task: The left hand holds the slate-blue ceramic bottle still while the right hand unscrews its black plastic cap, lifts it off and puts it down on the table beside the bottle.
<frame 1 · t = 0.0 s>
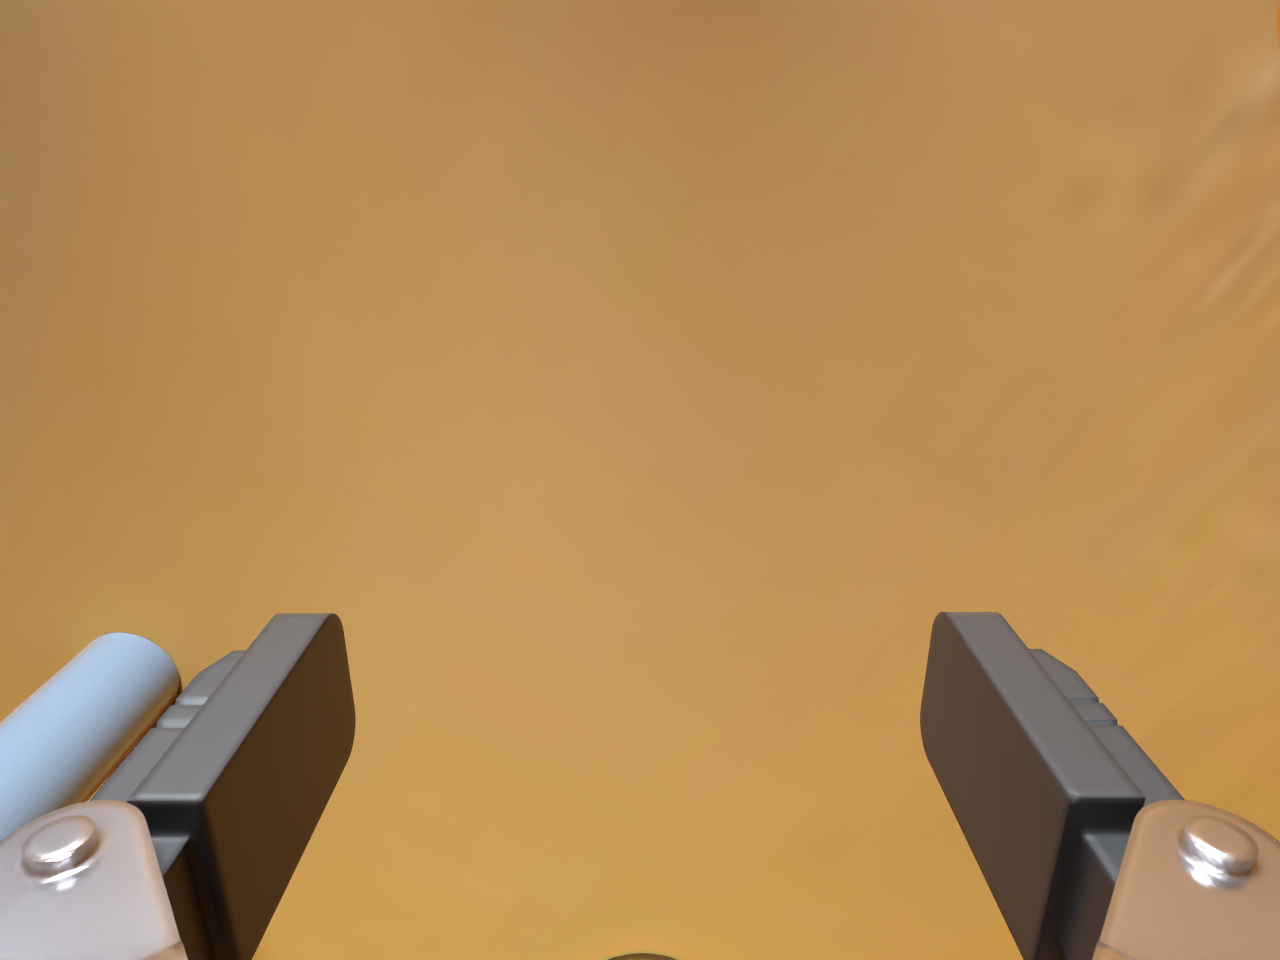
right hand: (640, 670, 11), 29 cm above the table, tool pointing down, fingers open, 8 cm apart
bottle: (130, 674, 46), on the table
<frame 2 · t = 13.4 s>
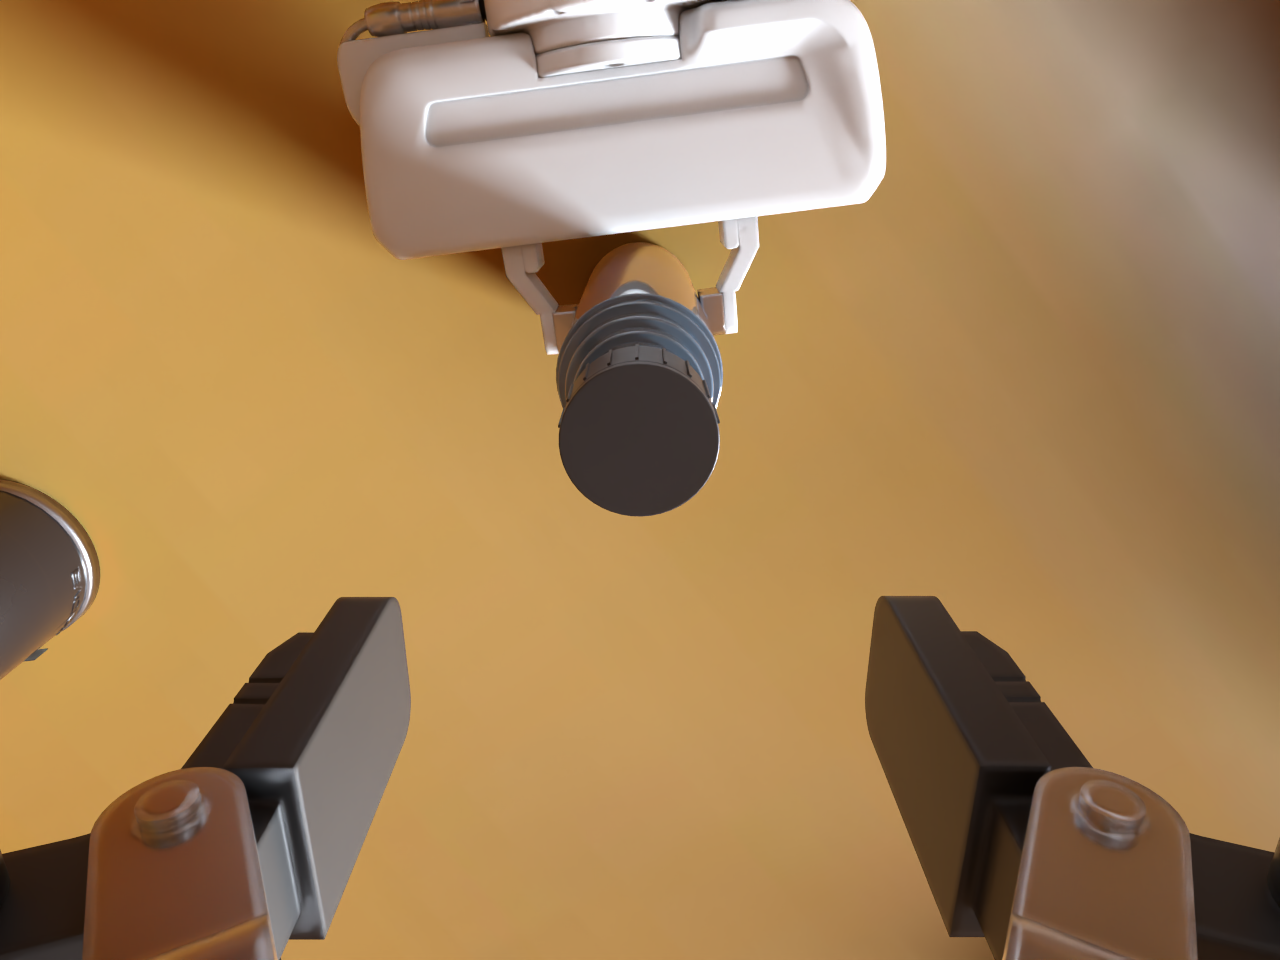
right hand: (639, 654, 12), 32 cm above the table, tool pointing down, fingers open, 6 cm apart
left hand: (643, 341, 36), fingers closed on bottle, 5 cm apart
bottle: (639, 297, 42), on the table, touching left hand
cap: (639, 439, 21), point 23 cm above the table, screwed on, not yet turned
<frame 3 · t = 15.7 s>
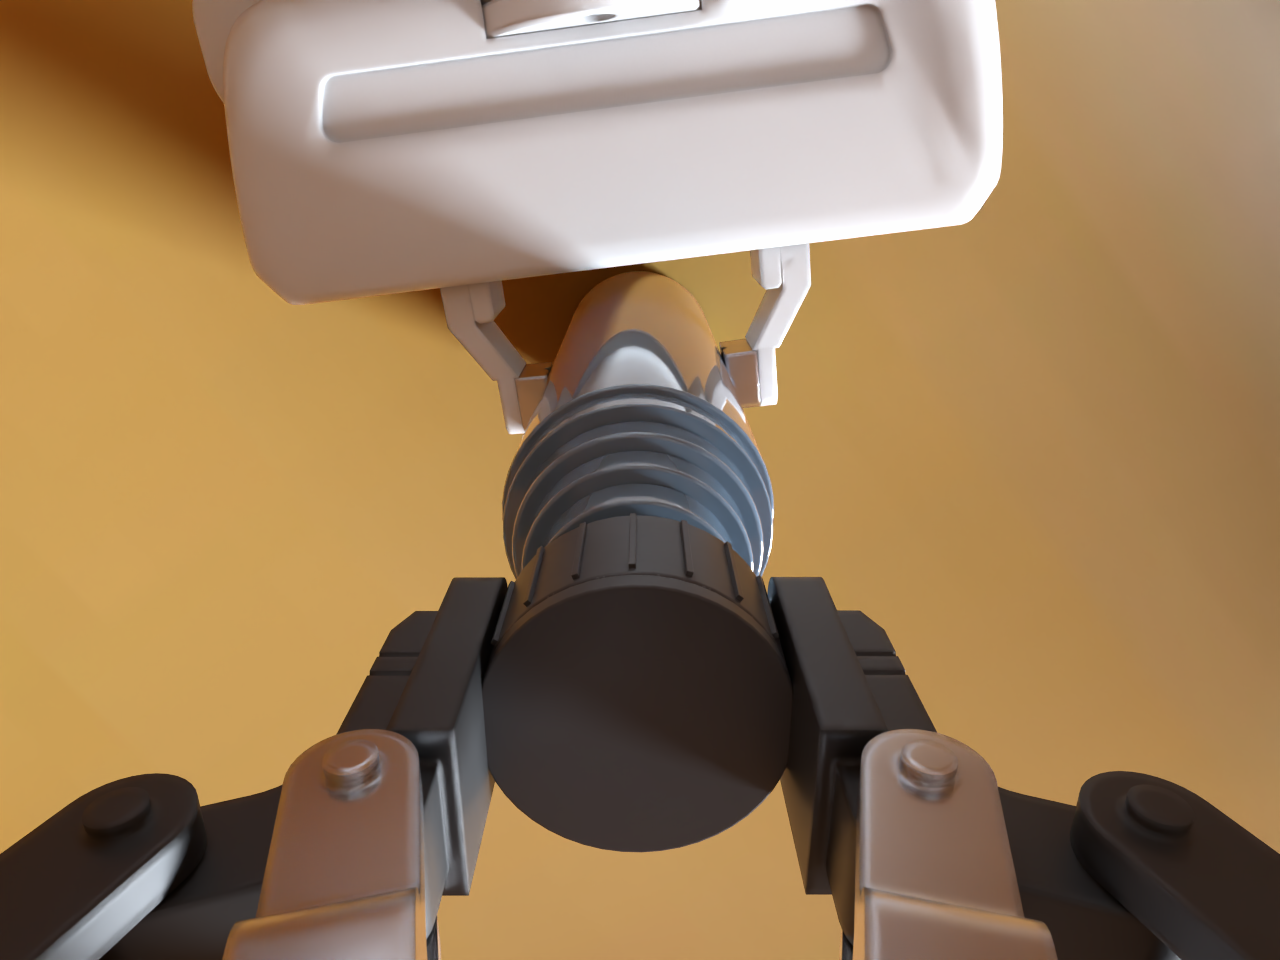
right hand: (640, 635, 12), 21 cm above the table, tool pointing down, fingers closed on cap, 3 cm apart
left hand: (643, 414, 26), fingers closed on bottle, 5 cm apart
bottle: (639, 342, 32), on the table, touching left hand
cap: (636, 713, 11), point 23 cm above the table, screwed on, not yet turned, touching right hand
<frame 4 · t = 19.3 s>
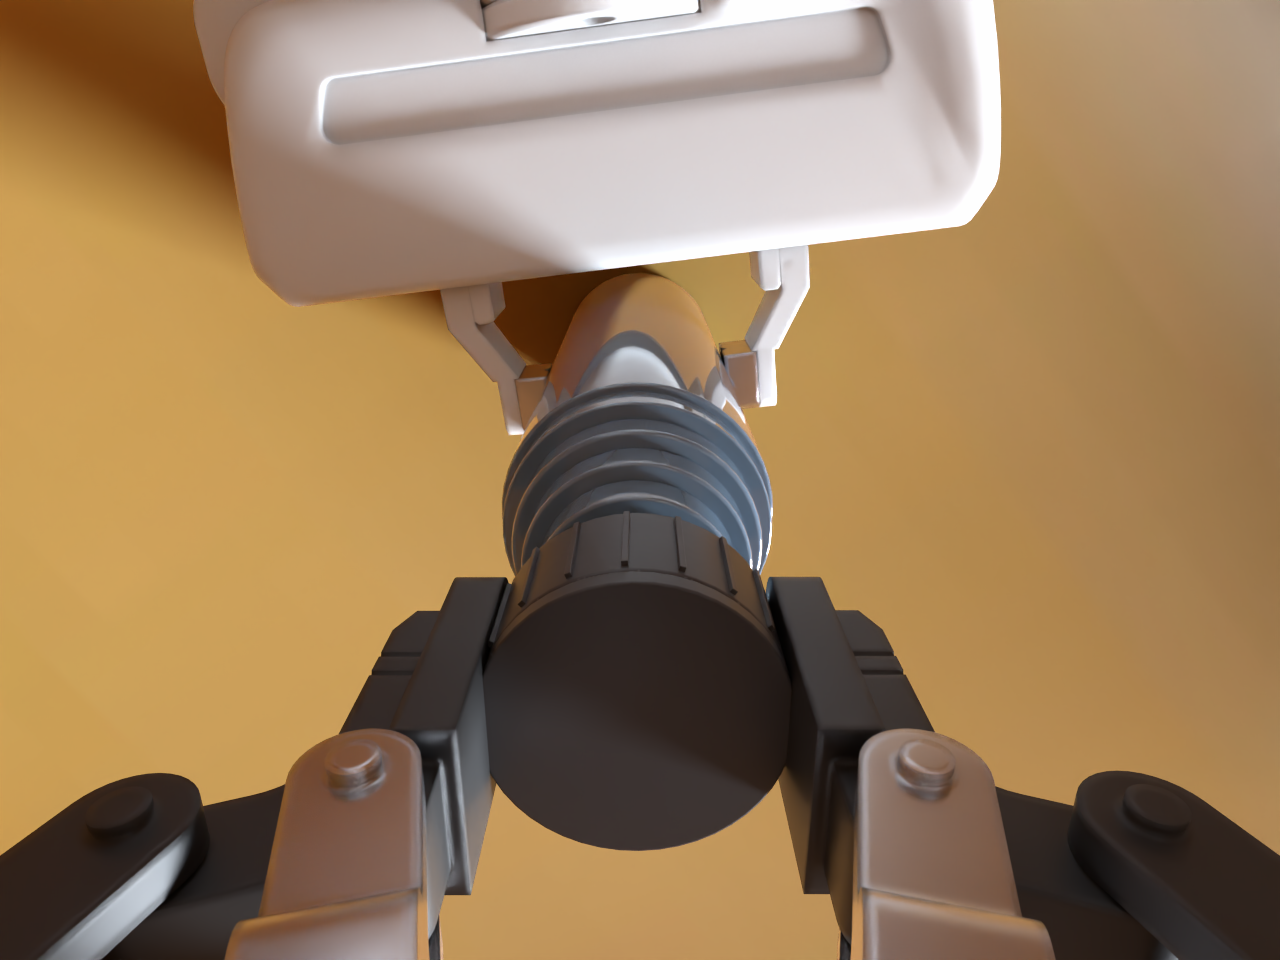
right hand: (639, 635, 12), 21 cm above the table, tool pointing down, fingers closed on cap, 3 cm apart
left hand: (643, 415, 26), fingers closed on bottle, 5 cm apart
bottle: (638, 344, 32), on the table, touching left hand
cap: (635, 711, 11), point 23 cm above the table, turned 82° so far, risen 0.1 cm, still on its thread, touching right hand
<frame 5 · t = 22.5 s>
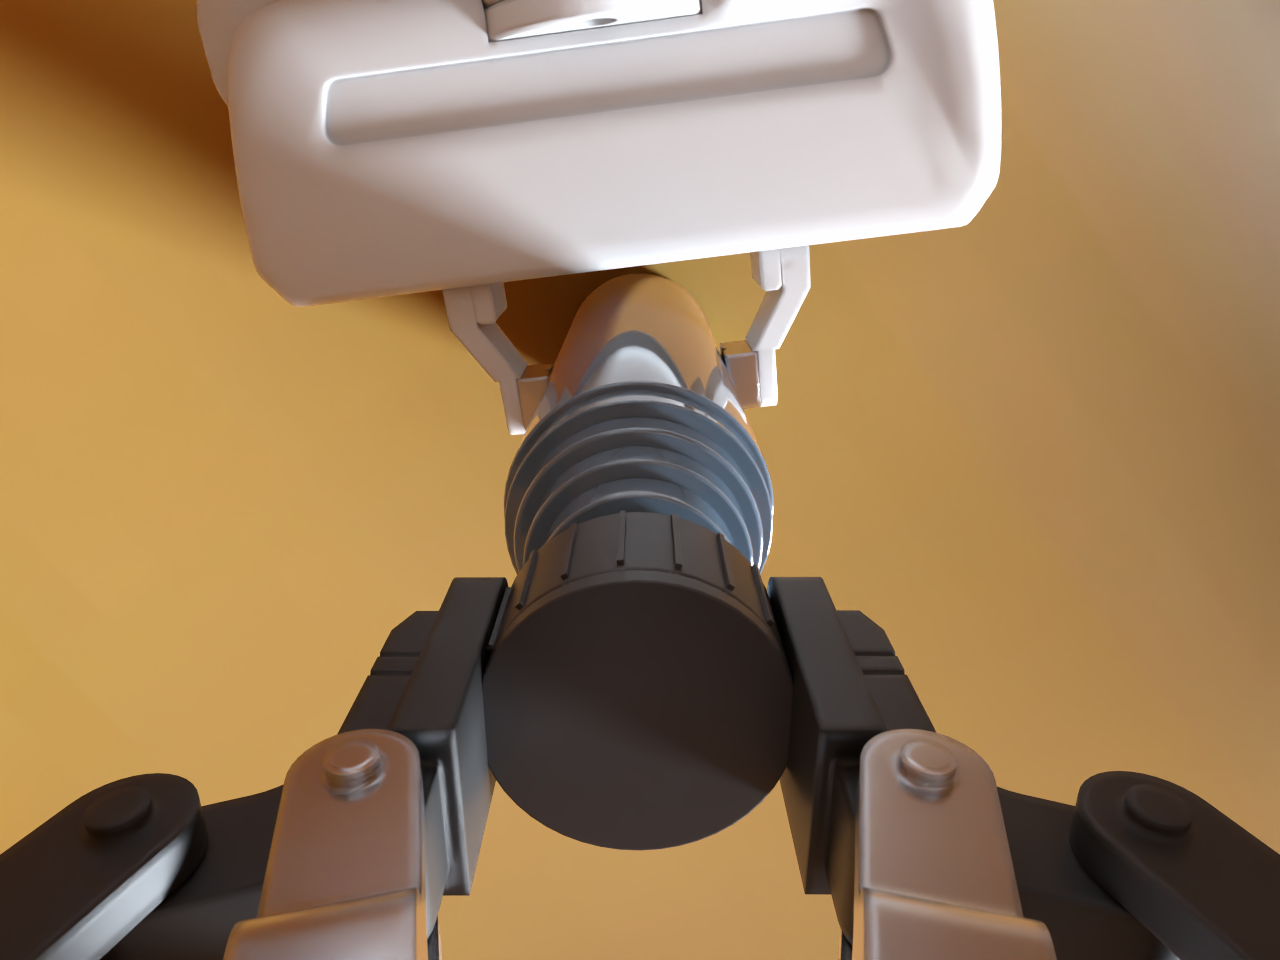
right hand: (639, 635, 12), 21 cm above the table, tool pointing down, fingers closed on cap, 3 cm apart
left hand: (644, 415, 26), fingers closed on bottle, 5 cm apart
bottle: (639, 344, 32), on the table, touching left hand
cap: (637, 710, 11), point 23 cm above the table, turned 164° so far, risen 0.2 cm, still on its thread, touching right hand
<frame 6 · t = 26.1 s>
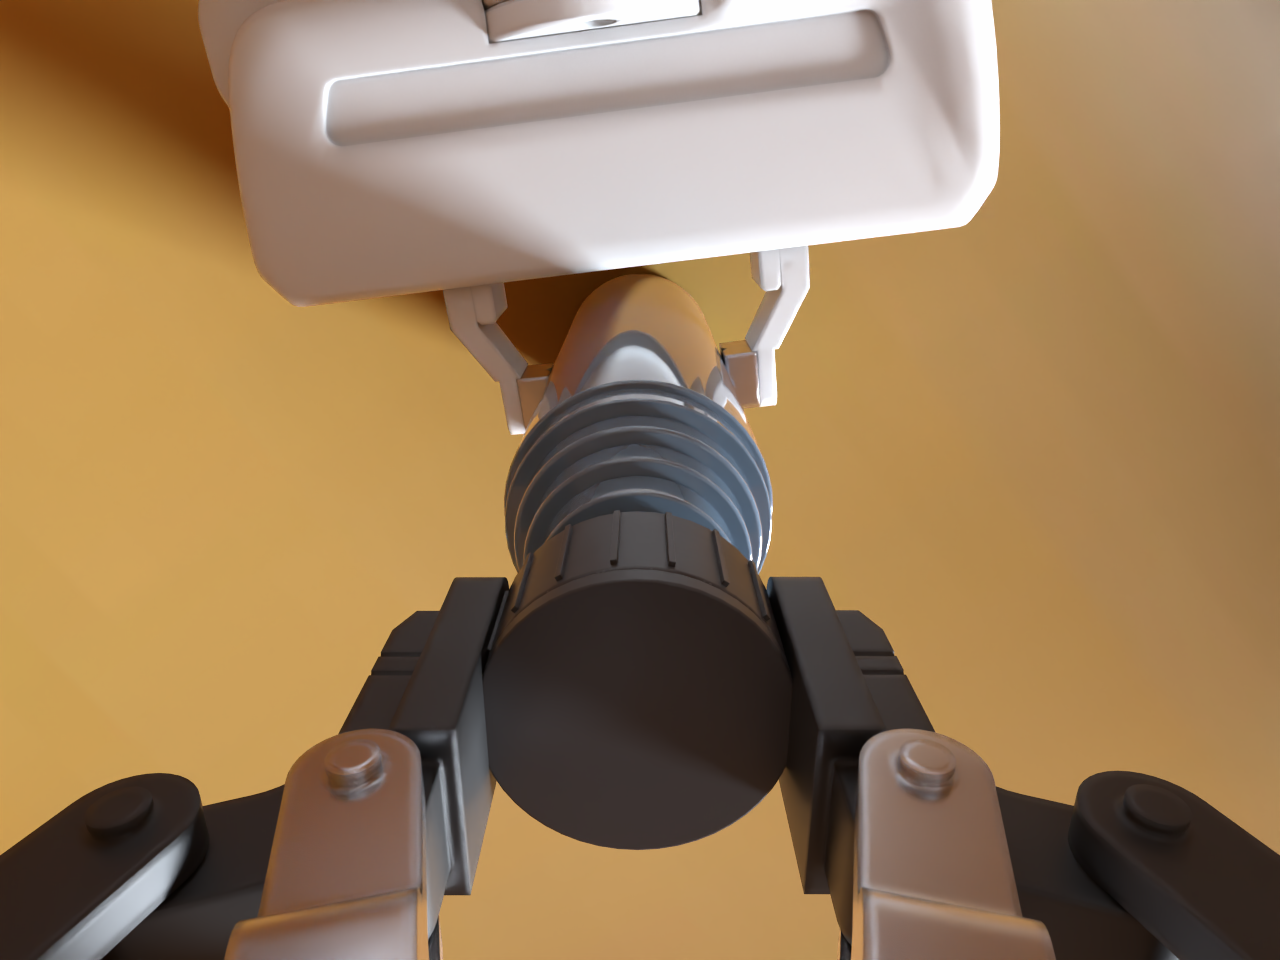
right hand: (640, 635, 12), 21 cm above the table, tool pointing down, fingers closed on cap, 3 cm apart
left hand: (644, 415, 26), fingers closed on bottle, 5 cm apart
bottle: (639, 344, 32), on the table, touching left hand
cap: (637, 709, 11), point 23 cm above the table, turned 246° so far, risen 0.2 cm, still on its thread, touching right hand
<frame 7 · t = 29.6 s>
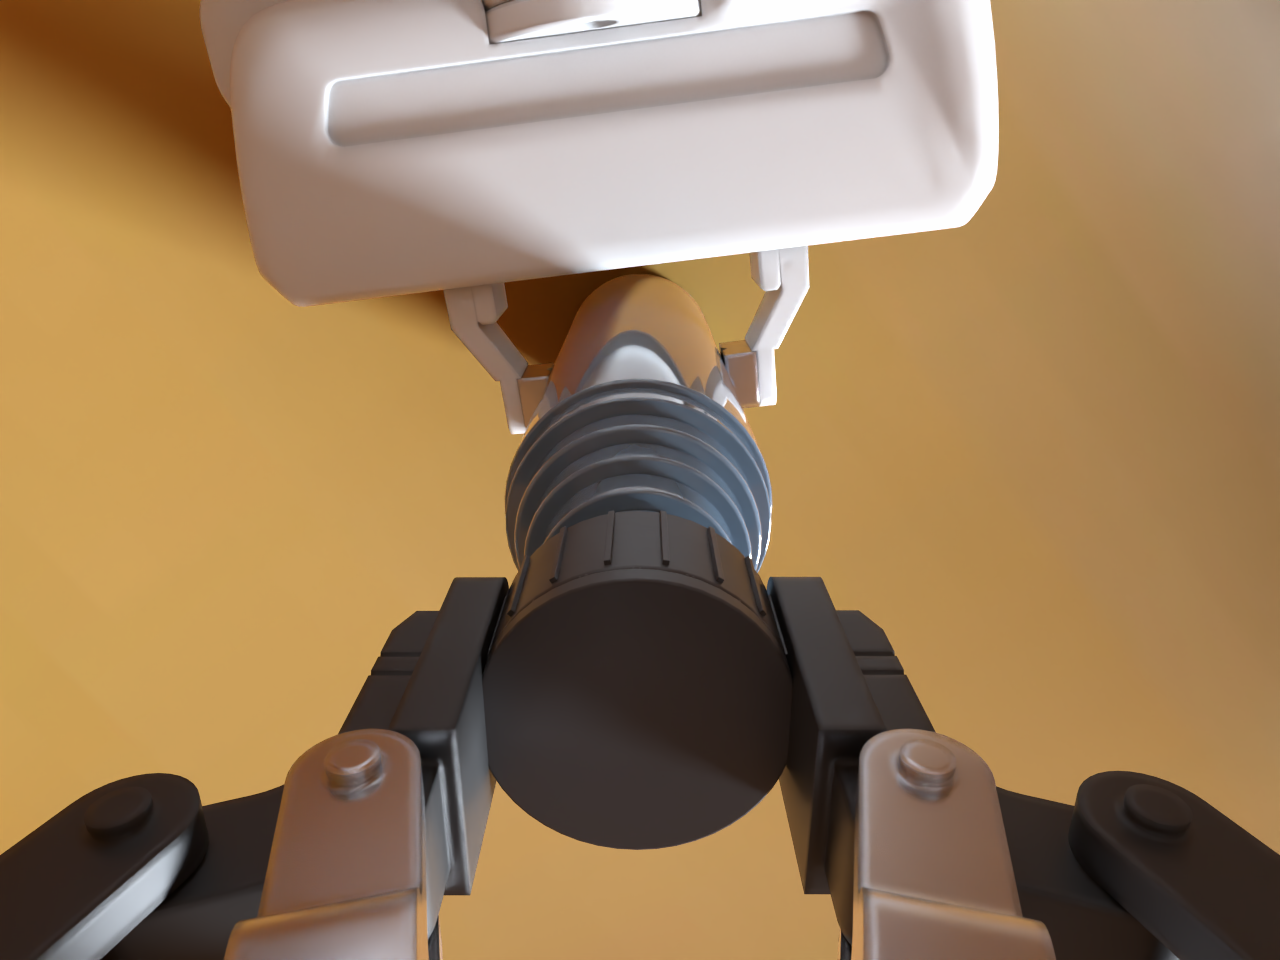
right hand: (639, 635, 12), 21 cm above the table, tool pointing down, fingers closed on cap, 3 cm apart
left hand: (644, 415, 26), fingers closed on bottle, 5 cm apart
bottle: (639, 344, 32), on the table, touching left hand
cap: (636, 709, 11), point 23 cm above the table, turned 328° so far, risen 0.3 cm, still on its thread, touching right hand
when the right hand's fingers open (1 cm above the table, at t = 40.2 s): cap drops 1 cm, point 2 cm above the table.
when the left hand's fingers open (7 cm above the table, at t = 41.4 s): bottle stays where it is, on the table.
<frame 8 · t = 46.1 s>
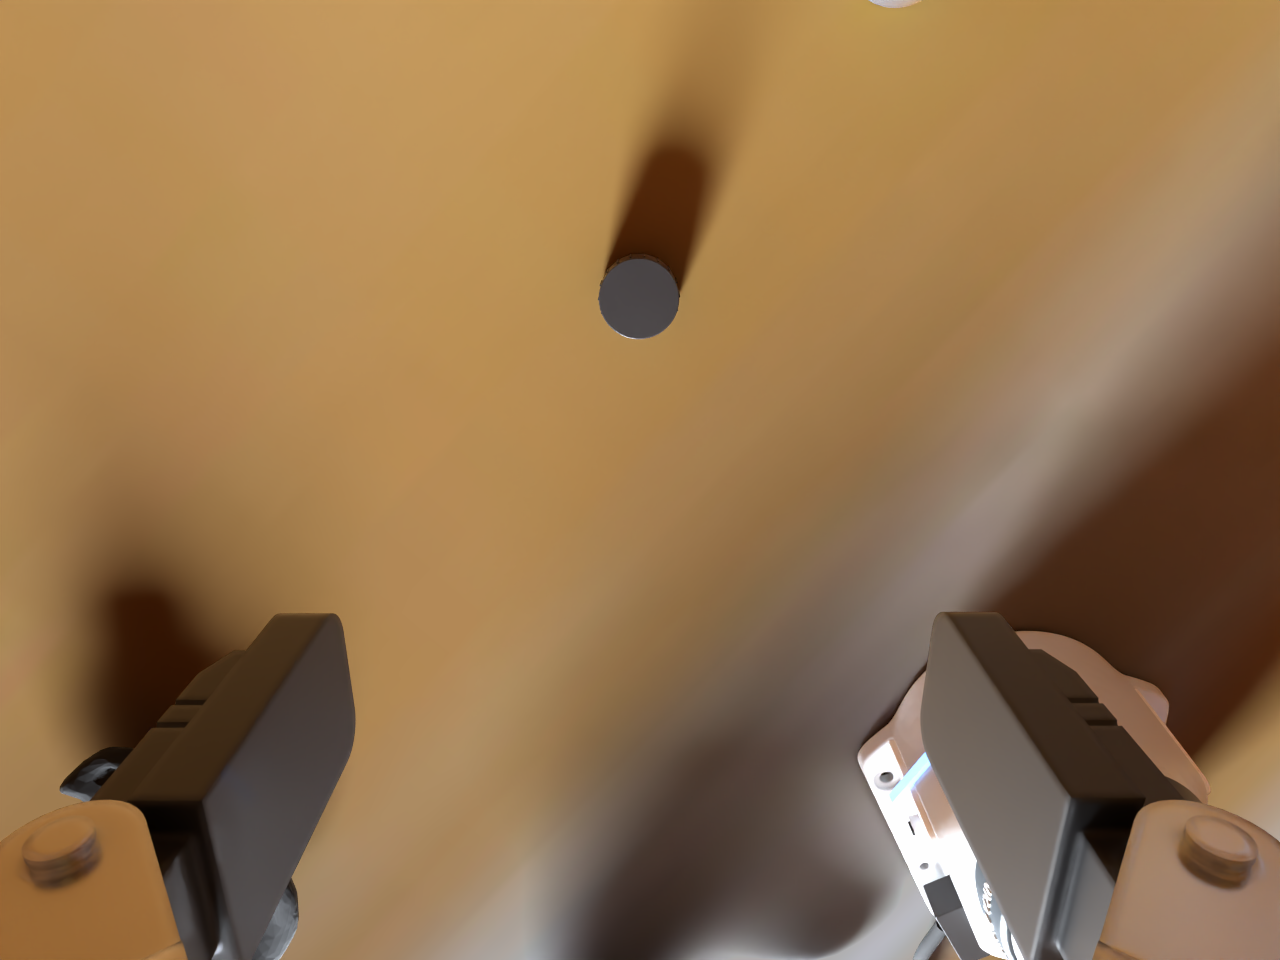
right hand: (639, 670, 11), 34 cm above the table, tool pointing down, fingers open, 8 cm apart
oil lamp: (197, 829, 56), on the table
cap: (639, 298, 42), point 2 cm above the table, off its thread
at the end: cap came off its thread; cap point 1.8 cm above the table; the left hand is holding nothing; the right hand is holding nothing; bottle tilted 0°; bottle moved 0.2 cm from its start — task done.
